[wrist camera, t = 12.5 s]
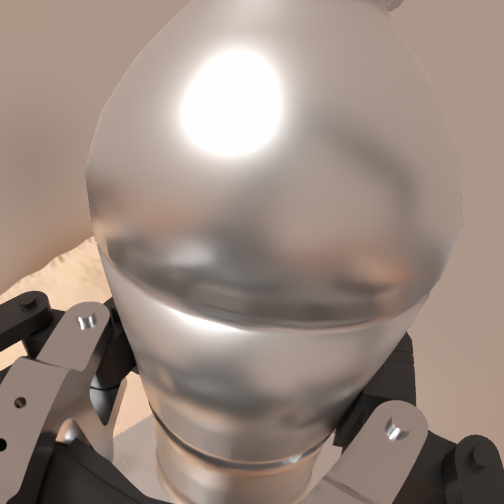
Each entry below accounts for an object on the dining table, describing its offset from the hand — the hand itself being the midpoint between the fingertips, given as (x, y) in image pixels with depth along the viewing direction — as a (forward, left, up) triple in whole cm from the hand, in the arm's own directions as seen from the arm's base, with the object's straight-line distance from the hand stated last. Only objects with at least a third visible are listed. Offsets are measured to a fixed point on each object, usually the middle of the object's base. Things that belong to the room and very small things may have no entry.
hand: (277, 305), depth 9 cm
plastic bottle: (+1, +2, -10) cm, 11 cm away
